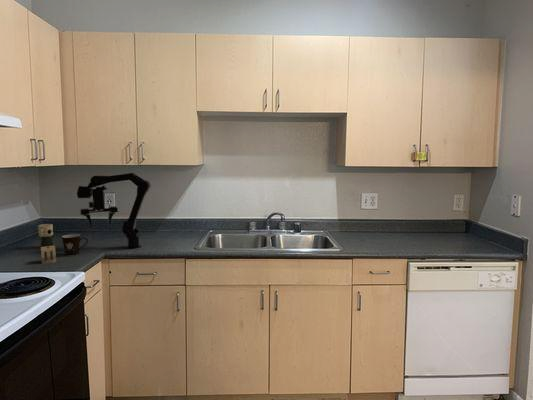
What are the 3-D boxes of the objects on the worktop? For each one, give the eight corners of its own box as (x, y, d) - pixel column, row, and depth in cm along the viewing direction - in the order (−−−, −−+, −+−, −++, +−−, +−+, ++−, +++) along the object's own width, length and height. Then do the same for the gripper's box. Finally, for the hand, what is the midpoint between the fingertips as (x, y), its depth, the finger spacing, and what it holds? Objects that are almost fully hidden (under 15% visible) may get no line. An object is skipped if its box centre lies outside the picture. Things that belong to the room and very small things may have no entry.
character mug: (48, 249, 213) (46, 226, 211) (35, 249, 212) (33, 226, 211) (58, 244, 224) (56, 223, 222) (45, 245, 223) (44, 223, 222)
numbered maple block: (56, 262, 188) (55, 247, 187) (42, 263, 185) (41, 249, 184) (55, 259, 193) (54, 245, 192) (41, 260, 190) (40, 246, 189)
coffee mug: (59, 255, 199) (57, 237, 198) (71, 251, 207) (70, 233, 206) (78, 257, 196) (76, 238, 195) (89, 253, 205) (88, 234, 203)
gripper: (113, 195, 223) (114, 222, 225) (78, 197, 213) (80, 225, 215) (117, 197, 214) (118, 224, 216) (80, 199, 204) (82, 228, 206)
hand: (100, 225), depth 213 cm, fingers open, 9 cm apart
